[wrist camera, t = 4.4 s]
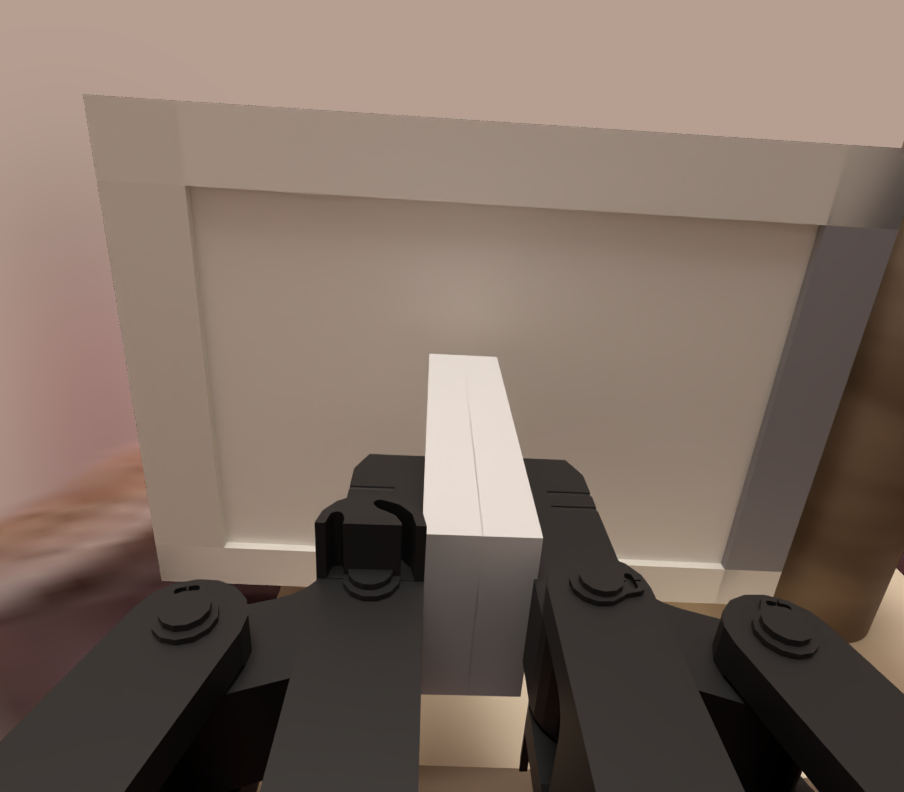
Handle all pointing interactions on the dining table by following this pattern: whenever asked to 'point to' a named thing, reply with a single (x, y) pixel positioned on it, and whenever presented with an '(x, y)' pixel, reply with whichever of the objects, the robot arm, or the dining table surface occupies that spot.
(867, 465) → the gate frame
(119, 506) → the dining table surface
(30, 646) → the dining table surface
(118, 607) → the dining table surface
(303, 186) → the gate
